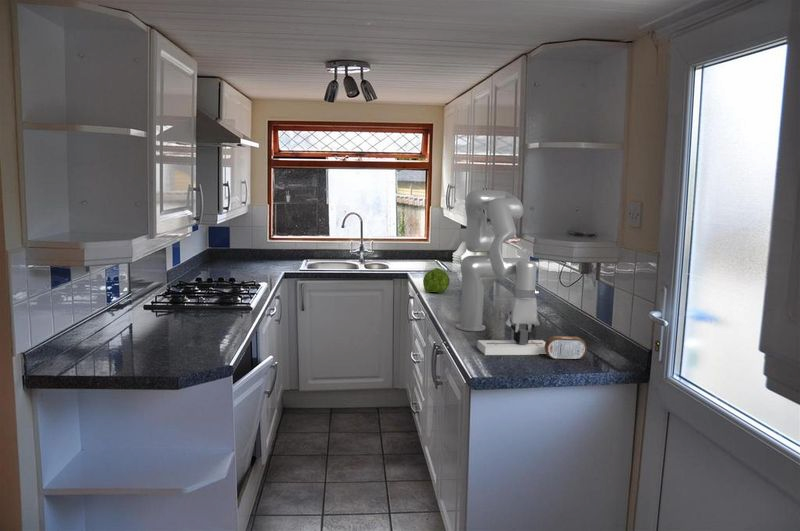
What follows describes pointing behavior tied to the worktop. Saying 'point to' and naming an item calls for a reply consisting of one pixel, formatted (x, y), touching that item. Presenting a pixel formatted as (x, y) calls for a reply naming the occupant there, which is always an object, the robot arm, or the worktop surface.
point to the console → (511, 347)
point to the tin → (565, 347)
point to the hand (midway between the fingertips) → (521, 341)
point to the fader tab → (523, 336)
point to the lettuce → (436, 281)
